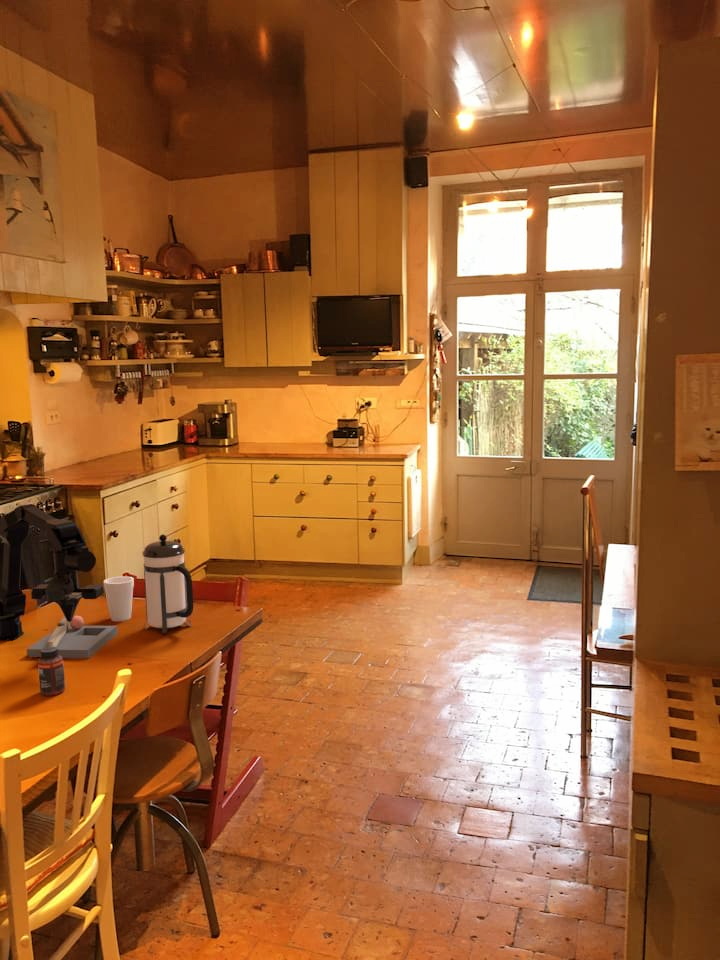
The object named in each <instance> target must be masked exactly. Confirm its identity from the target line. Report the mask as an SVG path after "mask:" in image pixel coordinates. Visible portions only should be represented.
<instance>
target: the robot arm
mask: <svg viewBox="0 0 720 960" xmlns="http://www.w3.org/2000/svg"><path fill="white" fill-rule="evenodd" d="M31 526H32V527H34V528H36V529H38V530H40V531H41V532H43V533H44V534H45V539H46V540H47V541H48V542H49V543H51V546H49V550H50V551H52V552H53V562H54V572H53V573H52V580H51V581H50V582H48V584H47V583H45V584H43V583H41V584H38V585H37V586H35V587H33V588H32V589H31V591H30V598H31V600H41V599H43V598H44V597H45V596H46V599H47V600H48V601H51V602H52V603H56V604H57V605H58V606H59V608H60V609H61V611H62V613H63V615H64V616H65V618H66V620H67V622H71V621H72V619H73V617H74V616H75V613H76V609H77V607H78V605H79V603H80V601H81V599H84V600H96V599H98V598H99V597H101V596H102V595H104V594H105V589H104V586H102V584H99V583H97V584H96V583H95V584H93V583H92V584H88V585H86V586H84V587H80V586H81V582H79V580H78V573H79V572H83V573H88V572H91V571H92V570H93V569H94V568H95V567H96V562H97V558H96V556H95V554H94V553H93V552H92V551H90V550H89V546H87V542H86V541H85V539H86V538H85V537H84V536H83V534H82V532H81V530H80V528H79V527H78V525H77V524H76V523H75V522H74V521H73V520H68V519H60V518H55V517H54V516H52V515H51V514H49V513H47V512H45V511H43V510H41V508H38V507H37V506H36V504H33V503H28V504H27V503H26V504H23V505H22V504H21V505H18V506H17V507H15V508H14V509H13V510H12V511H10V512H8V513H6V514H4V515H3V516H0V539H1V540H2V542H3V556H2V557H3V558H2V575H1V577H2V578H1V587H0V641H14V640H16V639H18V638H19V637H20V636H22V635H23V634H25V633H24V631H23V626H22V625H23V623H22V620H21V617H22V616H24V615H25V611H26V606H27V601H26V599H27V596H26V593H24V591H23V590H22V589H21V588H20V586H21V583H20V582H21V571H22V570H21V568H22V567H21V565H22V551H23V548H22V547H23V543H24V542H25V540H26V539H27V538H28V536H29V533H30V527H31Z"/></svg>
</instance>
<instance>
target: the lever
mask: <svg viewBox="0 0 720 960" xmlns="http://www.w3.org/2000/svg"><path fill="white" fill-rule="evenodd" d="M56 625H57V627H55V629H54V630H55V631H54V630H53V631H54V632H53V634H52V636H51V637H50V639H49V640H48V642H47V647H57V646H58V644H59V642H60V641H61V639H62V637H63V636H64V634H65V633H66V631H67V629H68V628H69V626H70V622H67V620H66V618H65V615H64V616H63V617H62V619H61V621H59V622H57V623H56Z"/></svg>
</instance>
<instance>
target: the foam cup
mask: <svg viewBox="0 0 720 960" xmlns="http://www.w3.org/2000/svg"><path fill="white" fill-rule="evenodd" d="M134 579H135V578H134V577H132V576H125V575H124V576H121V575H120V576H113V577H109V578H106V579H104V580H103V588H104V594H105V596H106V602H107V607H108V611H109V616H110V620H111V621H112V622H125V621H128V620H130V619H131V618H132V607H133V596H134V593H133V592H134V587H135V580H134Z"/></svg>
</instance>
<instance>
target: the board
mask: <svg viewBox="0 0 720 960" xmlns="http://www.w3.org/2000/svg"><path fill="white" fill-rule="evenodd" d="M54 631H55V629H54V630H52V631H51V632H50V633H48V634H47V635H45V636H43V637H42V638H40V640H38V641H37V642H35V643H34V644H32V645H30V646H28V648H27V649H26V655H27V656H28V657H41V650H42V649H43V648H46V647H47V642H48V640H49V639H50V637H51V636H52V634H53V632H54ZM118 634H119V631H118V625H83V626H82V627H81V628H79V629H73V628H72V627H71V626H69V628H68V629H67V631H66V633H65V634H64V636H63V637H62V639H61V641H60V642H59V644H58V646H57V648H58V654H59V655H61V656H62V658H63V659H89V658H91V657H92V656H93V655H94V654H95V653H97V652H98V651H100V649H101V648H103V647H104V646H105V645H106V644H107V643H109V642H110V641H111V640H112V639H113V638H115V637H116V636H117V635H118ZM27 656H26V657H27Z"/></svg>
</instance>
